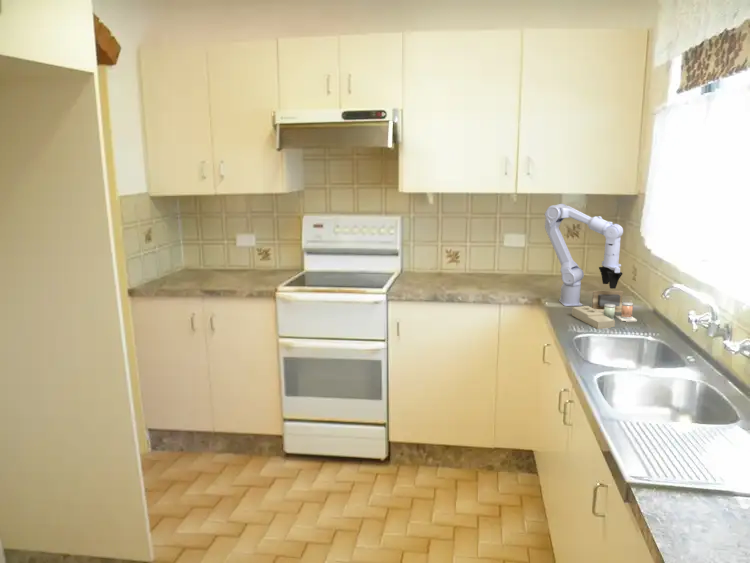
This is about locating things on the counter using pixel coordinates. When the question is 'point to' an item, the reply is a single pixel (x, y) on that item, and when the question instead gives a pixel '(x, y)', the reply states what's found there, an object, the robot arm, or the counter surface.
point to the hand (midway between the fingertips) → (609, 286)
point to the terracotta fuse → (626, 310)
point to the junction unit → (607, 300)
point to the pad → (626, 319)
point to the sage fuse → (609, 310)
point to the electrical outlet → (593, 317)
